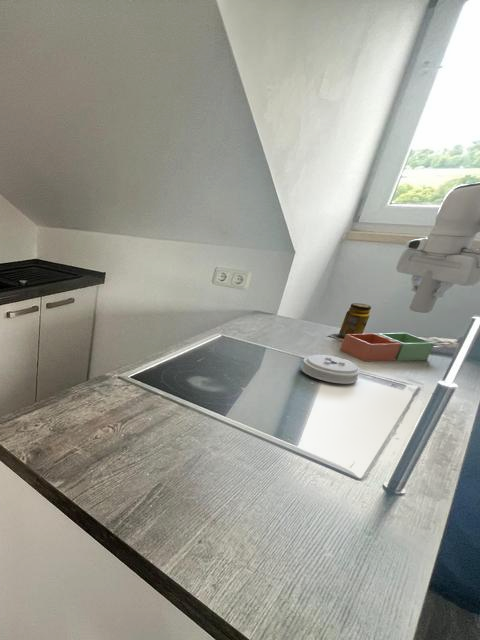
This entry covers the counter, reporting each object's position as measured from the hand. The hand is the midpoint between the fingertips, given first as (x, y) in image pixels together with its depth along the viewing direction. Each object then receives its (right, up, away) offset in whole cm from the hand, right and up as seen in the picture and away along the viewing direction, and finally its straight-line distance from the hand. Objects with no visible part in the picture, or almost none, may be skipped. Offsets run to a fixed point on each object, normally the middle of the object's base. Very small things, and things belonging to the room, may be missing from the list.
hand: (425, 294), depth 114 cm
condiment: (-3, -12, +23) cm, 26 cm away
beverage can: (0, -5, +2) cm, 5 cm away
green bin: (+1, -18, +9) cm, 20 cm away
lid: (-32, -24, -4) cm, 41 cm away
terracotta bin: (-9, -18, +9) cm, 22 cm away
